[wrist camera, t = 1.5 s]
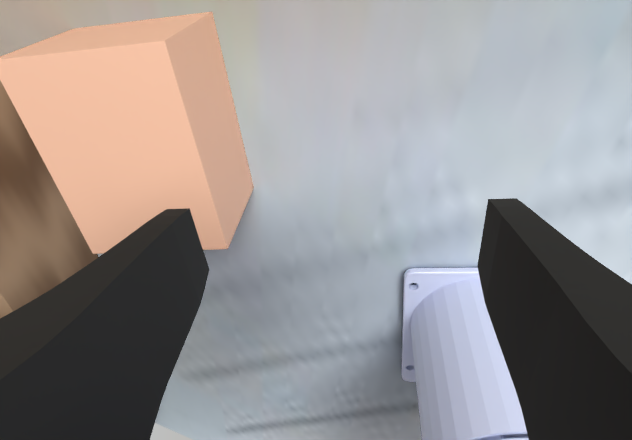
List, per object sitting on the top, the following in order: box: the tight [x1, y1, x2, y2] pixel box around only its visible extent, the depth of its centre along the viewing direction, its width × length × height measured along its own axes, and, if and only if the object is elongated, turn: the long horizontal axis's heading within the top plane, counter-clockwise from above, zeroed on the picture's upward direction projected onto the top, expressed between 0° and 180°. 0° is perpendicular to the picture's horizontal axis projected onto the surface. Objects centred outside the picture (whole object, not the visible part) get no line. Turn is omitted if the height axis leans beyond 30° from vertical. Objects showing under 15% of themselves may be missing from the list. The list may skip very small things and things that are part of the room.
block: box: [0, 12, 254, 254], centre depth 18 cm, size 8×6×5 cm
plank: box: [0, 81, 98, 318], centre depth 23 cm, size 24×2×6 cm, turn 5°
